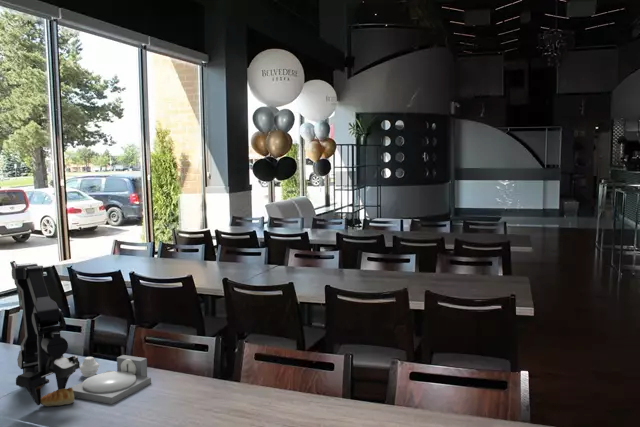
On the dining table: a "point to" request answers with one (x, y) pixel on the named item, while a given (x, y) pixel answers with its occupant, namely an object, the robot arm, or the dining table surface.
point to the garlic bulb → (89, 367)
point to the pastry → (58, 397)
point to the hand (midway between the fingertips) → (50, 399)
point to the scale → (115, 381)
